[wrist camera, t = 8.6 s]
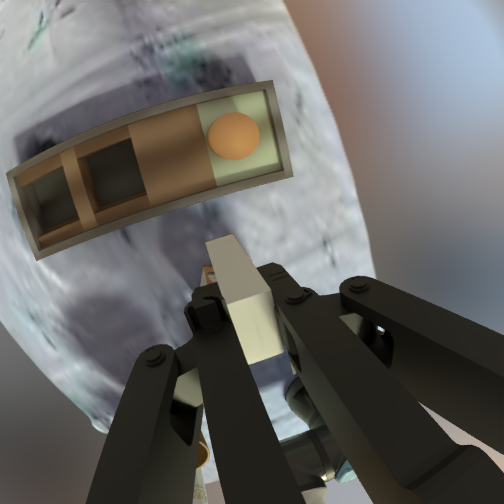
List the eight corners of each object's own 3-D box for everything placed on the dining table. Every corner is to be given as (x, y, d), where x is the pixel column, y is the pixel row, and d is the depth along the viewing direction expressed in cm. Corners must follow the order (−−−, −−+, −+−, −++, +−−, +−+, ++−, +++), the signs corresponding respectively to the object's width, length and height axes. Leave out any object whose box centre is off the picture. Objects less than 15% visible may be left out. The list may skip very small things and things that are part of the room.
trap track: (278, 172, 38) (293, 176, 33) (51, 246, 33) (36, 260, 28) (259, 88, 33) (272, 80, 28) (25, 168, 28) (5, 173, 23)
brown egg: (255, 150, 32) (265, 151, 28) (214, 164, 31) (219, 166, 28) (242, 111, 30) (251, 106, 26) (201, 123, 29) (204, 120, 26)
